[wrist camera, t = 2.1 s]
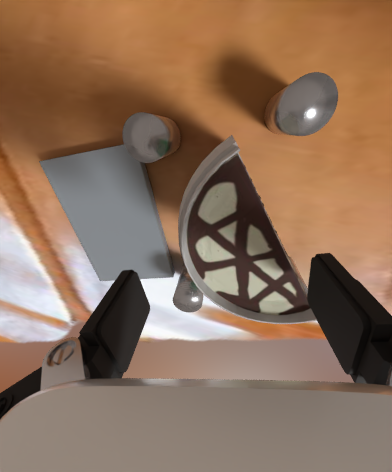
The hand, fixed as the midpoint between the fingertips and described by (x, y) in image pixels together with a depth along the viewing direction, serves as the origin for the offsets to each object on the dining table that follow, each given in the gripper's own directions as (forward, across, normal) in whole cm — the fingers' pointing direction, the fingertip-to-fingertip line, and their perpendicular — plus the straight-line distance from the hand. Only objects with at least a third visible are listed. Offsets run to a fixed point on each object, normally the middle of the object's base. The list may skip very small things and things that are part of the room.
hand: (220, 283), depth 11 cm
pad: (+11, +12, 0) cm, 16 cm away
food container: (+11, -1, 0) cm, 11 cm away
